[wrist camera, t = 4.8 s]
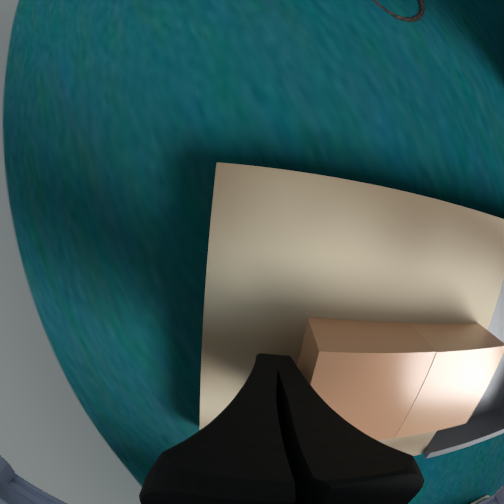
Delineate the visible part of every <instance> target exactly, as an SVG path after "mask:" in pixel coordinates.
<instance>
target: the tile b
mask: <svg viewBox="0 0 504 504" xmlns="http://www.w3.org/2000/svg"><path fill="white" fill-rule="evenodd" d="M410 324H411V325H412V326H413V327H414V328H415V329H416V330H417V331H418V332H419V333H420V335H421V336H422V337H423V338H424V339H425V340H426V341H427V342H428V343H429V344H430V345H431V346H432V347H433V348H434V349H435V350H436V354H435V357H434V359H433V362H432V364H431V367H430V369H429V371H428V373H427V376H426V378H425V380H424V382H423V384H422V387H421V389H420V391H419V393H418V395H417V397H416V399H415V401H414V403H413V405H412V407H411V409H410V411H409V413H408V414H407V416H406V418H405V420H404V422H403V424H402V425H401V427H400V429H399V431H398V432H397V434H396V436H395V437H394V438H401V437H407V436H413V435H418V434H423V433H428V432H433V431H438V430H442V429H446V428H450V427H454V426H458V425H462V424H465V423H467V421H468V420H469V418H470V416H471V415H472V413H473V411H474V410H475V408H476V406H477V405H478V403H479V401H480V399H481V398H482V396H483V394H484V392H485V390H486V389H487V387H488V385H489V383H490V381H491V379H492V377H493V375H494V373H495V371H496V369H497V367H498V365H499V362H500V360H501V358H502V356H503V353H504V343H503V342H502V341H501V340H499V339H498V338H497V337H496V336H494V335H493V334H492V333H490V332H489V331H488V330H487V329H485V328H484V327H483V326H481V325H480V324H479V323H410Z"/></svg>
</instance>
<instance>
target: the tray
mask: <svg viewBox="0 0 504 504" xmlns="http://www.w3.org/2000/svg"><path fill="white" fill-rule="evenodd" d="M488 331H489V332H490V333H492V334H493V335H494V336H496V337H497V338H498V339H499V340H501V341H502V342H503V343H504V279H503V283H502V287H501V290H500V294H499V297H498V300H497V304H496V307H495V310H494V313H493V316H492V319H491V322H490V324H489V327H488ZM502 433H504V353H503V356H502V358H501V360H500V362H499V365H498V367H497V369H496V371H495V373H494V375H493V377H492V379H491V381H490V383H489V385H488V387H487V389H486V390H485V392H484V394H483V396H482V398H481V399H480V401H479V403H478V405H477V406H476V408H475V410H474V411H473V413H472V415H471V416H470V418H469V420H468V421H467V423H465V424H462V425H458V426H454V427H450V428H446V429H442V430H438V431H437V432H436V433H435V435H434V436H433V438H432V439H431V441H430V442H429V444H428V445H427V447H426V448H425V450H424V451H423V453H424V455H425V457H426V458H430V457H434V456H438V455H442V454H445V453H449V452H452V451H455V450H459V449H462V448H465V447H468V446H471V445H474V444H476V443H479V442H482V441H485V440H487V439H490V438H492V437H495V436H497V435H500V434H502Z"/></svg>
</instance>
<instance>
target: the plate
mask: <svg viewBox="0 0 504 504" xmlns="http://www.w3.org/2000/svg"><path fill="white" fill-rule="evenodd" d="M503 279H504V219H502V218H499V217H496V216H493V215H490V214H486V213H483V212H480V211H477V210H473V209H470V208H467V207H463V206H460V205H456V204H453V203H449V202H445V201H442V200H438V199H434V198H430V197H426V196H422V195H418V194H414V193H410V192H405V191H401V190H397V189H392V188H387V187H383V186H378V185H373V184H368V183H363V182H358V181H353V180H347V179H342V178H336V177H330V176H324V175H318V174H311V173H305V172H298V171H291V170H284V169H276V168H268V167H259V166H251V165H241V164H231V163H220V162H217V164H216V173H215V182H214V191H213V201H212V211H211V222H210V233H209V244H208V256H207V269H206V283H205V298H204V314H203V333H202V355H201V382H200V430H201V429H202V428H204V427H205V426H206V425H208V424H209V423H210V422H211V421H212V420H214V419H215V418H216V417H217V416H218V415H219V414H220V413H221V412H222V411H223V410H224V409H225V408H226V407H227V406H228V405H229V403H230V402H231V401H232V400H233V399H234V397H235V396H236V395H237V393H238V392H239V391H240V389H241V388H242V386H243V385H244V383H245V382H246V380H247V378H248V376H249V375H250V373H251V371H252V369H253V366H254V364H255V360H256V355H258V354H259V353H263V354H274V355H285V356H290V357H291V358H292V359H293V361H294V362H295V364H296V366H297V365H298V360H299V356H300V351H301V347H302V342H303V337H304V333H305V328H306V323H307V318H308V317H317V318H331V319H345V320H362V321H383V322H409V323H479V324H480V325H481V326H483V327H484V328H485V329H487V330H488V327H489V324H490V322H491V319H492V316H493V313H494V310H495V307H496V304H497V300H498V297H499V294H500V290H501V287H502V283H503ZM436 432H437V431H433V432H428V433H423V434H418V435H413V436H407V437H401V438H392V439H384V440H377V441H379V442H381V443H383V444H385V445H387V446H390V447H392V448H395V449H397V450H400V451H402V452H405V453H407V454H410V455H412V456H415V455H419V454H422V452H423V451H424V450H425V448H426V447H427V445H428V444H429V442H430V441H431V439H432V438H433V436H434V435H435V433H436Z"/></svg>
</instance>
